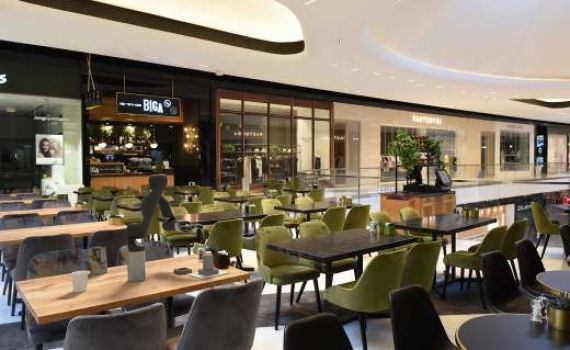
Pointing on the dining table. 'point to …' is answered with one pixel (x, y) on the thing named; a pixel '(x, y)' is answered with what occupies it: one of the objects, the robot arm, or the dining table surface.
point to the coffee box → (98, 260)
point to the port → (207, 273)
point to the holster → (182, 270)
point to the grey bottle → (208, 261)
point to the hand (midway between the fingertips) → (197, 227)
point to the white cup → (79, 281)
